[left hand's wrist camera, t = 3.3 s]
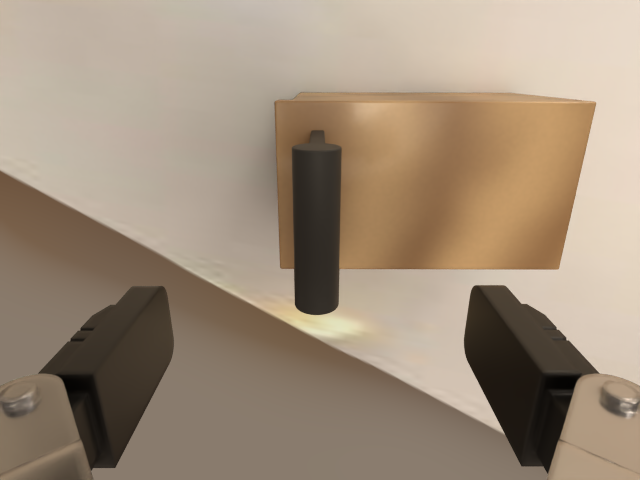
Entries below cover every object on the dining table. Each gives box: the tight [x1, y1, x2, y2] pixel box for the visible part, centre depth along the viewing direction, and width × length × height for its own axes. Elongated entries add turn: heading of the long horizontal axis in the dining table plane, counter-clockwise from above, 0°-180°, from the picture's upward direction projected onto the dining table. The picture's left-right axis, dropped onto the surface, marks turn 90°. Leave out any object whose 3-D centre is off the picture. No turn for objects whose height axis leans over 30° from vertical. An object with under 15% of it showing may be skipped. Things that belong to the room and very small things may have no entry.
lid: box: [275, 100, 596, 315], centre depth 20 cm, size 16×9×8 cm, turn 90°
